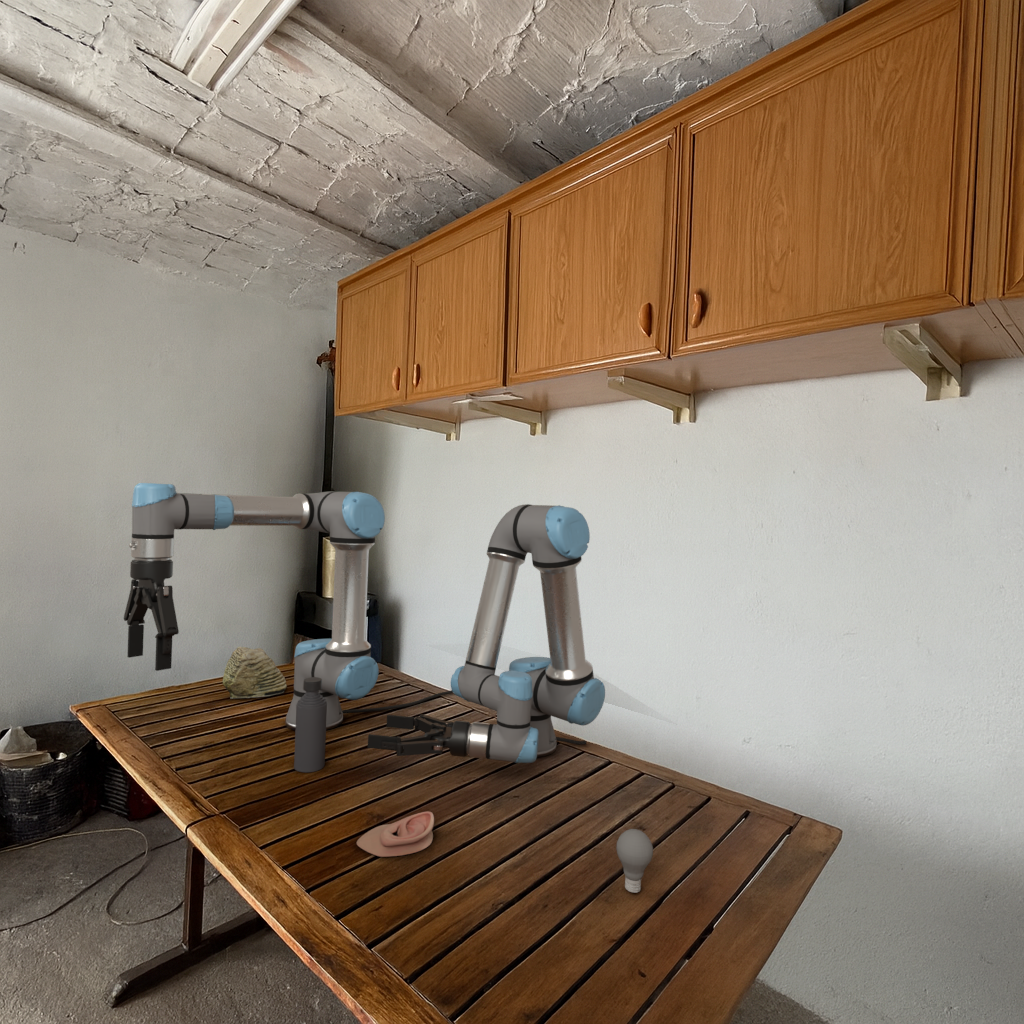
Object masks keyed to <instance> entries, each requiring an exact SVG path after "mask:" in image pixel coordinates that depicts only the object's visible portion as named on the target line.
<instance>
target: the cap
mask: <svg viewBox="0 0 1024 1024" xmlns="http://www.w3.org/2000/svg"><path fill="white" fill-rule="evenodd" d="M321 686H322V679H321V678H318V677H310V678H306V679H304V684H303V690H305V691H318V690H320V689H321Z"/></svg>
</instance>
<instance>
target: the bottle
mask: <svg viewBox="0 0 1024 1024" xmlns="http://www.w3.org/2000/svg"><path fill="white" fill-rule="evenodd" d="M326 716H327V702H326V699H324V697H322V695H320V693H319V690H318V691H306V693H305V694H304V695H303V696H302V698H300V700H298V703H297V704H296V729H295V730H294V733H295V734H294V757H293V760H294V762H293V769H294V770H295V771H297V772H298V773H299V772H300V773H315V772H318V771H320V770H323V769H324V767H325V766H326V764H325V763H326V742H327V741H326V739H327V737H326V736H327V730H326Z"/></svg>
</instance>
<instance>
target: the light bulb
mask: <svg viewBox="0 0 1024 1024" xmlns="http://www.w3.org/2000/svg"><path fill="white" fill-rule="evenodd" d="M615 849H616V854H617V857H618V859H619V861H620V863H621V865H622V867H623V873H624V874H623V875H624V876H625V878H624V888H625V890H627V891H628V892H630V893H634V894H635V893H639V892H640V891H641V889H642V887H641V886H642V879H643V877H644V875H645V871H646V868H647V867H648V866H649V864H650V863H651V861H652V859H653V855H654V847H653V843H652V841H651V838H649V836H648V835H647V834H646V833H645V832H643V831H642V830H641V829H636V828H629V829H627V830H625V831H623V832H622V833H621V834H620V835H619V837H618V839H617V841H616V847H615Z"/></svg>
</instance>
